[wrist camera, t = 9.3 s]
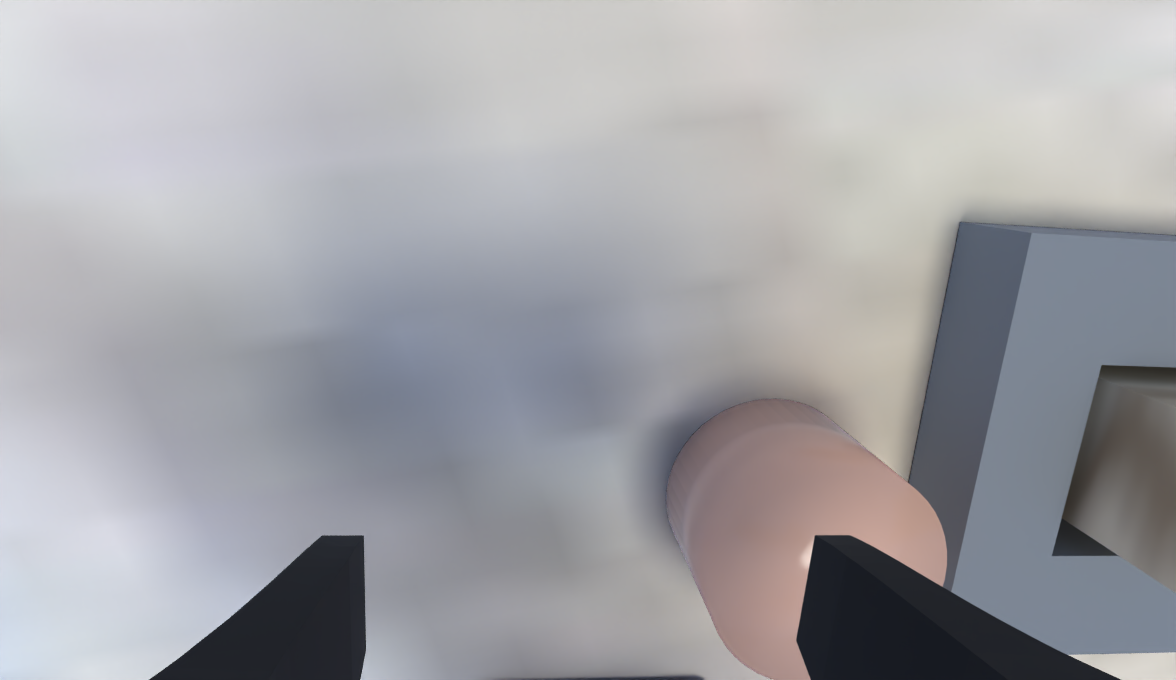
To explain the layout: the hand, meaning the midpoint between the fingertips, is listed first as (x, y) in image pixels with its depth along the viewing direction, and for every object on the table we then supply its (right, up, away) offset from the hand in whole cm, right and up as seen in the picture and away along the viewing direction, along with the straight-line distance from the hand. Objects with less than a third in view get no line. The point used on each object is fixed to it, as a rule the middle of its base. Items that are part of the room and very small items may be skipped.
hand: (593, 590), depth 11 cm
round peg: (+6, -1, +12) cm, 13 cm away
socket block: (+17, +1, +13) cm, 21 cm away
